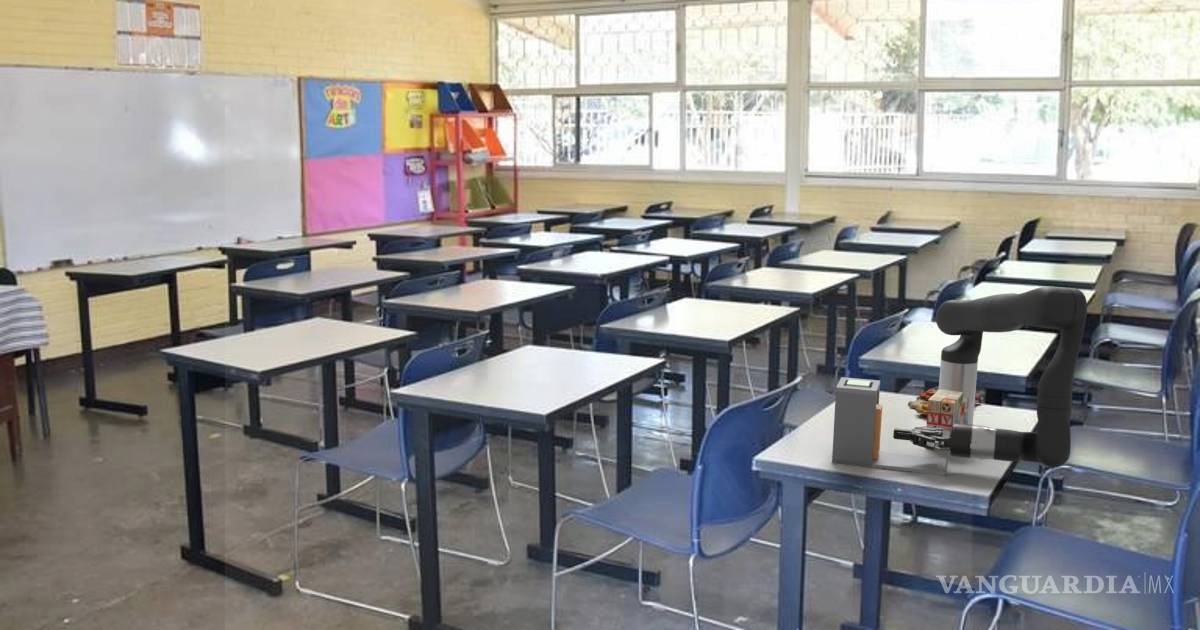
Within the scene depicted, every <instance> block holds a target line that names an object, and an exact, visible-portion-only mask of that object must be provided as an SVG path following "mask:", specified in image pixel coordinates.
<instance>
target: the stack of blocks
mask: <svg viewBox="0 0 1200 630" xmlns="http://www.w3.org/2000/svg"><path fill="white" fill-rule="evenodd" d="M968 405H969V396H963V392H958V391H949V390H941V389H939V390H938V391H937V392H936V393H935V394H934V395H933V396H932V397H930V398H929V399H928V412H927V415H926V426H937V428H942V429H943V430H947V431H951V430H952V424H954V423H957V424H968V411H969V408H968ZM943 449H945V450H944V451H949V450H950V448H941V449H940V450H943Z"/></svg>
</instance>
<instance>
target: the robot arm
mask: <svg viewBox="0 0 1200 630" xmlns="http://www.w3.org/2000/svg"><path fill="white" fill-rule="evenodd" d="M1087 315H1088V302H1087V298H1086V296H1085V294H1084V292H1083V291H1081V290H1080V289H1079V288H1074V287H1073V288H1072V287H1062V286H1061V287H1060V286H1041V287H1038V288H1034V289H1031V290H1028V291H1025V292H1022V293H1021V292H1020V293H1015V292H1014V293H1013V292H1012V293H1011V292H1009V293H1008V292H1007V293H1000V294H999V293H998V294H993V295H988V296H983V297H979V298H976V299H951V300H946V301H943V302H942V303H941V305H939V307H938V308H937V310H936V314H935V322H936V325H937V328H938V329H939V331H941V332H942V333H943V334H945V335H949V336H959V338H958V339H957V340H956V341H955V342H954V343H952V344H950V345H947V346H945V347H943V348H942V349H941V354H940V363H939V364H940V366H939V367H940V368H939V380H938V381H939V382H938V387H939V389H941V390H949V391H958V392H963V396H969V405H968V408H969V411H968V424H957V423H954V424H952V430H951V431H947V430H943V429H942V428H937V426H927V425H926V426H925V425H924V426H916V427H914V428H911V429H907V428H897V427H896V428H894V429H893V434H892V437H893V439H894V440H898V441H899V440H902V441H909V442H910V443H912V445H915V446H918V447H921V448H924V449H926V450H930V451H935V450H937V449H938V450H942V449H941V448H950V451H949V455H950V456H951V457H955V458H956V457H957V458H965V459H973V460H995V461H1003V462H1004V461H1005V462H1019V461H1022V462H1023V461H1024V462H1030V463H1038V464H1042V465H1044V466H1046V467H1050V468H1058V467H1061V466H1063V465H1065V464H1066V463H1067V462H1068V460H1069V458H1070V455H1071V446H1072V445H1071V444H1072V443H1071V442H1072V441H1071V439H1072V438H1071V416H1072V409H1073V408H1072V405H1073V388H1074V387H1073V386H1074V379H1075V378H1074V376H1075V371H1076V366H1077V362H1078V358H1079V353H1080V349H1081V345H1082V340H1083V336H1084V335H1083V334H1084V331H1085V327H1086V319H1087ZM1024 326H1028V327H1029V326H1031V327H1038V328H1043V329H1054V330H1055V329H1058V330H1060V339H1059V343H1058V347H1057V349H1056V351H1055V352H1054V355H1053V357H1052V358H1051V360H1050V362H1049V363H1048V365H1047V366H1046V367H1045V369H1044V371H1043V373H1042V375H1041V377H1040V379H1039V382H1038V388H1037V396H1036V397H1037V400H1036V417H1037V431H1018V430H1013V429H1005V428H995V427H990V426H985V425H976V424H974V416H975V415H974V413H975V405H976V404H975V392H976V393H977V391H976V388H977V378H978V364H979V363H978V362H979V356H980V353H981V351H982V350H981V349H982V342H983V335H984V333H1008V332H1014V331H1017V330H1019V329H1021V328H1022V327H1024ZM974 404H975V405H974ZM936 448H937V449H936Z"/></svg>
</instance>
